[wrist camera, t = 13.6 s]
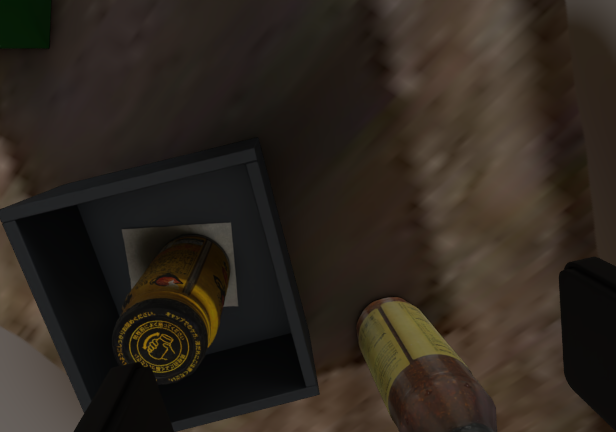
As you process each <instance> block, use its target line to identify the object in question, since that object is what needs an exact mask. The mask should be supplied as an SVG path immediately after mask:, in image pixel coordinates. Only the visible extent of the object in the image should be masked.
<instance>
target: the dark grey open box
mask: <svg viewBox="0 0 616 432" xmlns="http://www.w3.org/2000/svg"><path fill="white" fill-rule="evenodd" d="M0 220H1V222H2V223H3V224H2V225H3V227H4V229H5V232H6V234H7V236H8V238H9V241H10V243H11V245H12V248H13V250H14V252H15V255H16V257H17V259H18V262H19V264H20V266H21V268H22V271H23V273H24V275H25V278H26V280H27V282H28V285H29V287H30V289H31V292H32V294H33V296H34V298H35V301H36V303H37V305H38V308H39V310H40V312H41V315H42V317H43V319H44V322H45V324H46V326H47V328H48V331H49V333H50V335H51V338H52V340H53V342H54V345H55V347H56V349H57V352H58V354H59V356H60V358H61V361H62V363H63V365H64V368H65V370H66V372H67V375H68V377H69V379H70V382H71V384H72V386H73V388H74V390H75V393H76V395H77V398H78V400H79V402H80V405H81V407H82V409H83V412H84V413H85V411H86V410H87V408H88V406H89V405H90V403H91V401H92V400H93V398H94V396H95V394H96V393H97V391H98V389H99V388H100V386H101V384H102V382H103V381H104V379H105V377H106V376H107V374H108V372H109V371H110V369H111V368H113V367H117V366H119V364H118V362H117V360H116V358H115V356H114V353H113V347H112V335H113V331H114V328H115V326H116V322H117V320H118V319H119V318H120V316H121V309H122V305H123V303H124V301H125V299H126V297H127V295H128V294H129V292H130V291H131V290H132V289H131V278H130V275H129V268H128V262H127V256H126V250H125V244H124V239H123V234H122V229H138V228H150V227H170V226H181V225H196V224H214V223H231V229H232V242H233V251H234V262H235V273H236V286H237V298H238V306H227V307H223V309H222V314H221V318H220V325H219V327H218V330H217V334H216V336H215V338H214V340H213V342H212V343H211V345H210V346H209V347H208V349H207V351H206V353H205V357H204V359H203V360H202V362H201V363H200V365H199V366H198V368H197V369H196V370H195V371H194V372H193V373H192V374H191V375H190V376H187V377H185V378H183V379H182V380H180V381H179V382H176V383H171V384H166V385H164V384H162V385H158V387H159V390H160V393H161V396H162V399H163V401H164V404H165V407H166V410H167V413H168V416H169V418H170V421H171V424H172V427H173V430H174V432H177V431H180V430H184V429H188V428H192V427H196V426H200V425H204V424H208V423H211V422H215V421H219V420H223V419H227V418H231V417H235V416H238V415H242V414H246V413H250V412H254V411H258V410H262V409H266V408H269V407H273V406H277V405H281V404H285V403H289V402H293V401H296V400H300V399H304V398H308V397H312V396H316V395H319V394H320V393H319V388H318V382H317V376H316V370H315V364H314V358H313V353H312V347H311V341H310V336H309V330H308V326H307V323H306V319H305V315H304V311H303V307H302V303H301V300H300V296H299V292H298V288H297V284H296V280H295V276H294V273H293V269H292V265H291V261H290V257H289V253H288V250H287V246H286V242H285V238H284V234H283V230H282V227H281V223H280V219H279V215H278V211H277V207H276V204H275V200H274V196H273V192H272V188H271V184H270V181H269V177H268V173H267V169H266V165H265V161H264V157H263V154H262V150H261V146H260V142H259V138H258V137H257V138H253V139H249V140H245V141H241V142H236V143H232V144H228V145H224V146H220V147H216V148H212V149H208V150H204V151H200V152H196V153H191V154H187V155H183V156H179V157H175V158H171V159H167V160H163V161H159V162H155V163H150V164H146V165H142V166H138V167H134V168H130V169H126V170H122V171H118V172H114V173H109V174H105V175H101V176H97V177H93V178H89V179H85V180H81V181H77V182H73V183H68V184H64V185H62V186H59V187H57V188H54V189H51V190H49V191H46V192H44V193H41V194H38V195H36V196H33V197H31V198H28V199H26V200H23V201H20V202H18V203H15V204H13V205H10V206H7V207H5V208H2V209H0Z"/></svg>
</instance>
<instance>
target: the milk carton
mask: <svg viewBox="0 0 616 432" xmlns="http://www.w3.org/2000/svg"><path fill="white" fill-rule="evenodd" d="M50 19H51V0H0V48H49V43H50Z"/></svg>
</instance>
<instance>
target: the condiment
mask: <svg viewBox="0 0 616 432" xmlns="http://www.w3.org/2000/svg"><path fill="white" fill-rule="evenodd" d="M122 234H123V239H124V244H125V250H126V256H127V262H128V268H129V275H130V278H131V289H132V290H131V291H130V292H129V294H128V295H127V297H126V299H125V301H124V303H123V305H122V309H121V316H120V318H119V319H118V320H117V322H116V326H115V328H114V331H113V335H112V347H113V353H114V356H115V358H116V360H117V362H118V364H119V366H122V365H126V364H130V363H135V362H140V363H141V364H142V365H143V367H147V366H149V367H150V368H151V369H152V371H153V373H154V376H155V379H156V382H157V384H158V385H162V384H164V385H166V384H171V383H176V382H179V381H180V380H182V379H183V378H185V377H187V376H190V375H191V374H192V373H193V372H194V371H195V370H196V369H197V368H198V366H199V365H200V363H201V362H202V360H203V359H204V357H205V353H206V351H207V349H208V347H209V346H210V345H211V343H212V342H213V340H214V338H215V336H216V334H217V330H218V327H219V325H220V318H221V314H222V309H223V307H227V306H238V298H237V286H236V273H235V262H234V251H233V242H232V229H231V223H214V224H196V225H181V226H170V227H150V228H138V229H122Z"/></svg>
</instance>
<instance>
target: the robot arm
mask: <svg viewBox="0 0 616 432" xmlns="http://www.w3.org/2000/svg"><path fill="white" fill-rule="evenodd" d="M559 289H560V307H561V325H562V343H563V362H564V374H565V377H566V380H567V382H568V384H569V385H570V387H571V388H572V389H573V390H574V391H575V392H576V393H577V394H578V395H579V396H580V397H581V398H582V399H583V400H584V401H585V402H586V403H587V404H588V405H589V406H590V407H591V408H592V409H593V410H594V411H595V412H596V413H597V414H599V415H600V416H601V417H602V418H603V419H604V420H605V421H606V422H607V423H608V424H609V425H610V426H611V427H612V428H613V429H614V430H615V431H616V266H614V265H612V264H610V263H608V262H606V261H603V260H602V259H600V258H597V257H591V258H586V259H582V260H577V261H573V262H569V263H567V264H566V266H565V268H564V270H563V271H561V272H560V274H559ZM74 432H174V430H173V427H172V424H171V421H170V418H169V416H168V413H167V410H166V407H165V404H164V401H163V399H162V396H161V393H160V390H159V387H158V384H157V382H156V379H155V376H154V373H153V371H152V369H151V368H150V367H149V366H147V367H143V365H142V364H141V363H140V362H135V363H130V364H126V365H122V366H117V367H113V368H111V369H110V371H109V372H108V374H107V376H106V377H105V379H104V381H103V382H102V384H101V386H100V388H99V389H98V391H97V393H96V394H95V396H94V398H93V400H92V401H91V403H90V405H89V406H88V408H87V410H86V411H85V413H84V415H83V417H82V418H81V420H80V422H79V423H78V425H77V427H76V429H75V430H74Z"/></svg>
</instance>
